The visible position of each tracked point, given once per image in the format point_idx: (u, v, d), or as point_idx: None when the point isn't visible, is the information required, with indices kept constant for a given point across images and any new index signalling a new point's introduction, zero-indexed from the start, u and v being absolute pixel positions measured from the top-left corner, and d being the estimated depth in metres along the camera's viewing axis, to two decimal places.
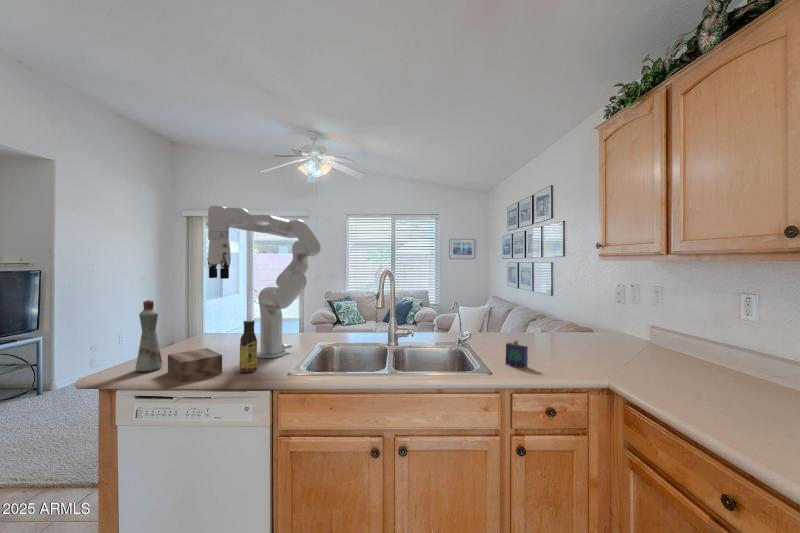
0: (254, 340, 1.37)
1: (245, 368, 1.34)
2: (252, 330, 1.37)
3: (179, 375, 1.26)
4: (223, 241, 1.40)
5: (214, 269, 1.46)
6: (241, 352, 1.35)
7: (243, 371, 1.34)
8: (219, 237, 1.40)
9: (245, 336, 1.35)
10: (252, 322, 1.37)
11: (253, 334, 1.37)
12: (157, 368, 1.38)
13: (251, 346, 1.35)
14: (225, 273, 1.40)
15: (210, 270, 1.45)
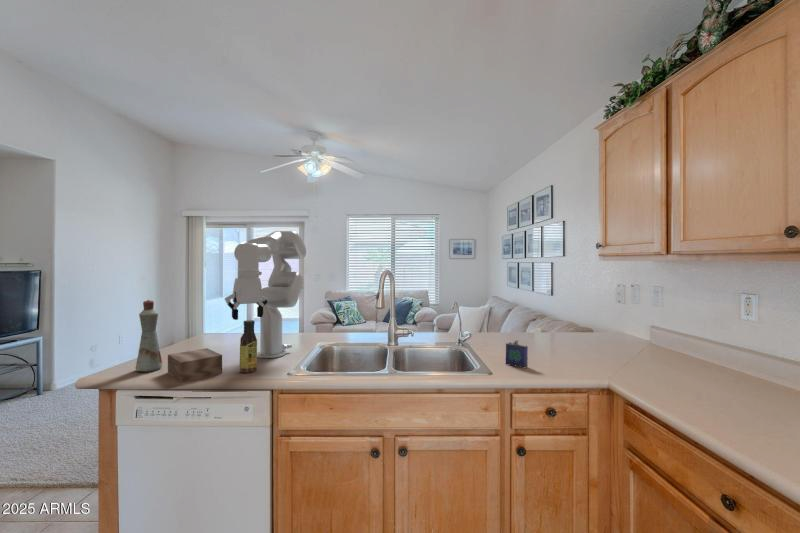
0: (254, 340, 1.37)
1: (245, 368, 1.34)
2: (252, 330, 1.37)
3: (179, 375, 1.26)
4: None
5: None
6: (241, 352, 1.35)
7: (243, 371, 1.34)
8: (258, 276, 1.39)
9: (245, 336, 1.35)
10: (252, 322, 1.37)
11: (253, 334, 1.37)
12: (157, 368, 1.38)
13: (251, 346, 1.35)
14: None
15: (237, 311, 1.33)
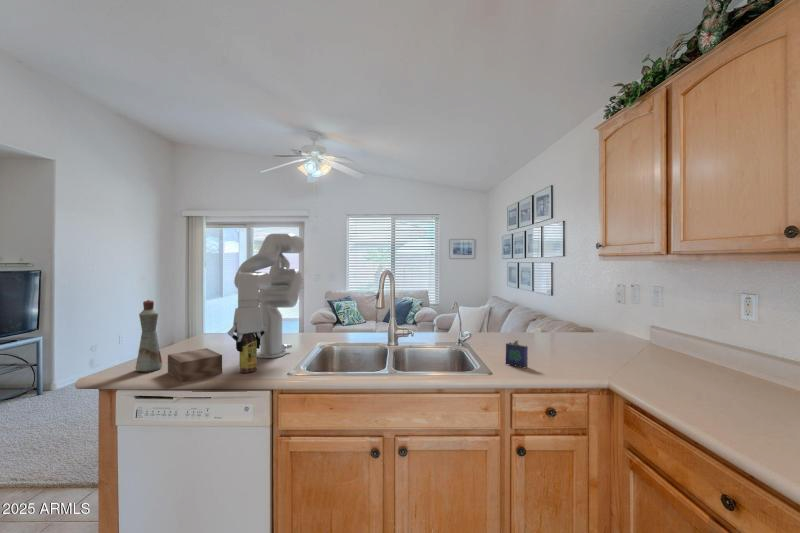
0: (254, 340, 1.36)
1: (245, 368, 1.34)
2: None
3: (179, 375, 1.26)
4: None
5: None
6: (241, 352, 1.35)
7: (243, 371, 1.34)
8: (258, 305, 1.39)
9: (244, 336, 1.35)
10: None
11: (252, 334, 1.37)
12: (157, 368, 1.38)
13: (251, 346, 1.35)
14: None
15: (241, 343, 1.34)
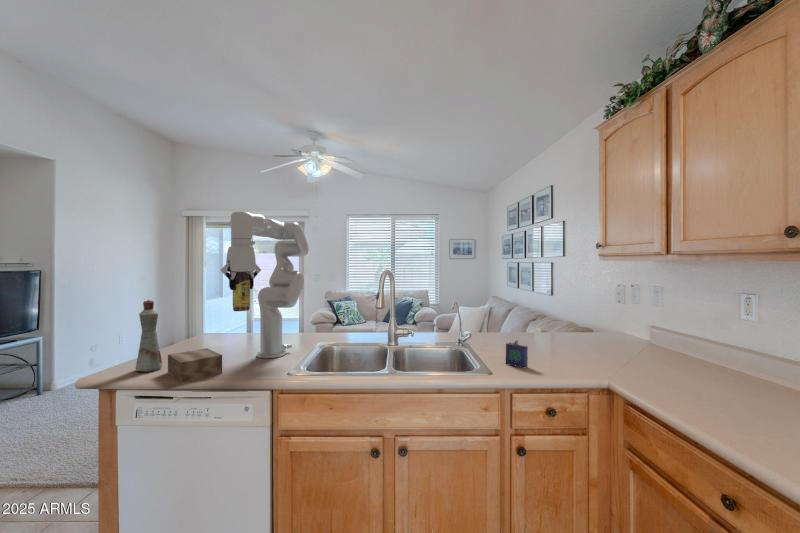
0: (247, 279, 1.36)
1: (238, 306, 1.34)
2: None
3: (179, 375, 1.26)
4: None
5: None
6: (234, 291, 1.34)
7: (236, 309, 1.34)
8: (251, 245, 1.39)
9: (237, 275, 1.35)
10: None
11: (246, 273, 1.36)
12: (157, 368, 1.38)
13: (245, 285, 1.35)
14: None
15: None
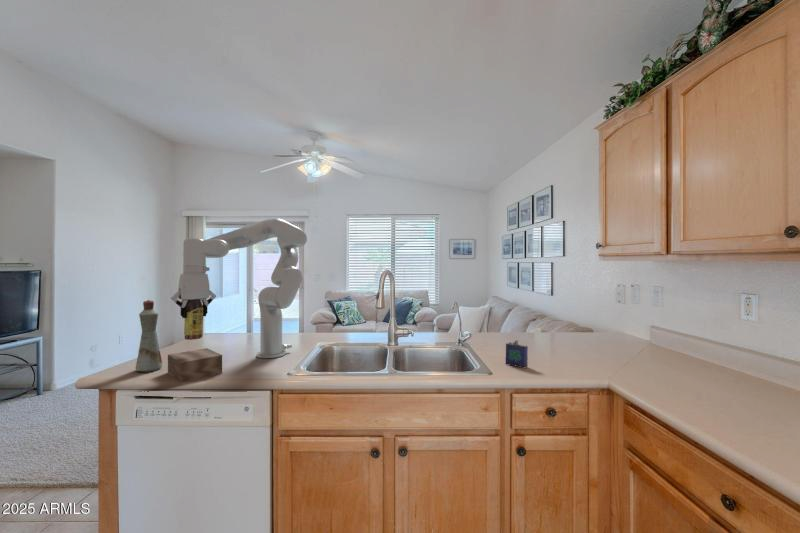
0: (199, 307, 1.34)
1: (189, 335, 1.31)
2: None
3: (179, 375, 1.26)
4: None
5: None
6: (185, 318, 1.32)
7: (187, 338, 1.32)
8: (205, 271, 1.36)
9: (189, 302, 1.32)
10: None
11: (198, 301, 1.34)
12: (157, 368, 1.38)
13: (196, 312, 1.33)
14: None
15: None
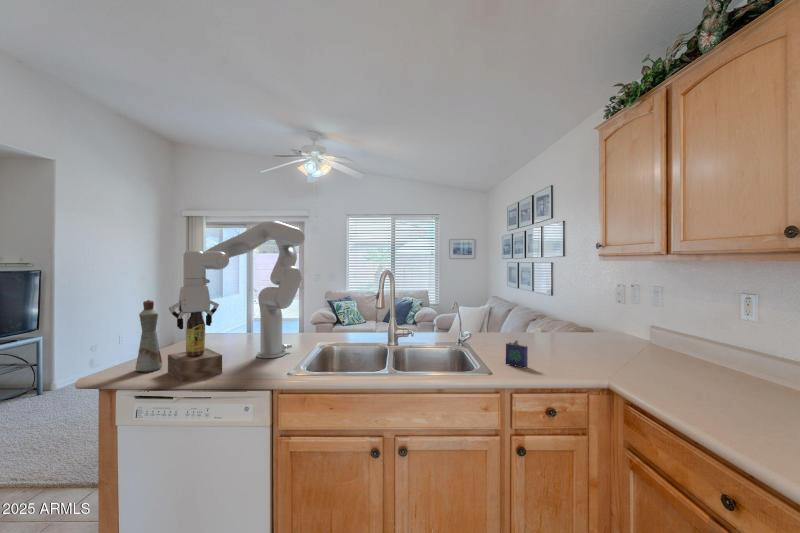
0: (201, 323, 1.34)
1: (191, 351, 1.32)
2: (199, 313, 1.35)
3: (179, 375, 1.26)
4: None
5: None
6: (187, 335, 1.33)
7: (189, 354, 1.32)
8: (205, 284, 1.37)
9: (191, 319, 1.33)
10: None
11: (200, 317, 1.35)
12: (157, 368, 1.38)
13: (198, 329, 1.33)
14: None
15: (182, 320, 1.31)
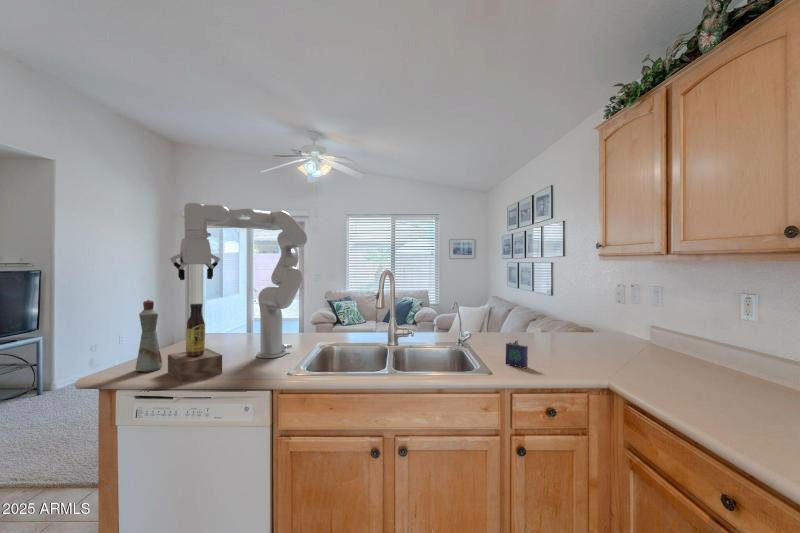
0: (201, 323, 1.34)
1: (191, 351, 1.32)
2: (199, 313, 1.35)
3: (179, 375, 1.26)
4: None
5: None
6: (187, 335, 1.33)
7: (189, 354, 1.32)
8: (207, 237, 1.37)
9: (191, 319, 1.33)
10: (199, 305, 1.35)
11: (200, 317, 1.35)
12: (157, 368, 1.38)
13: (198, 329, 1.33)
14: None
15: (184, 271, 1.31)
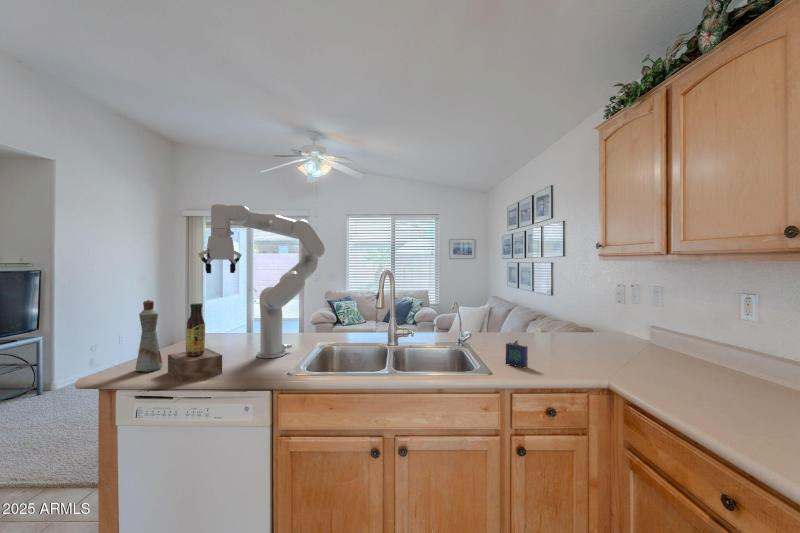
0: (201, 323, 1.34)
1: (191, 351, 1.32)
2: (199, 313, 1.35)
3: (179, 375, 1.26)
4: None
5: None
6: (187, 335, 1.33)
7: (189, 354, 1.32)
8: (230, 235, 1.52)
9: (191, 319, 1.33)
10: (199, 305, 1.35)
11: (200, 317, 1.35)
12: (157, 368, 1.38)
13: (198, 329, 1.33)
14: None
15: (210, 265, 1.46)
